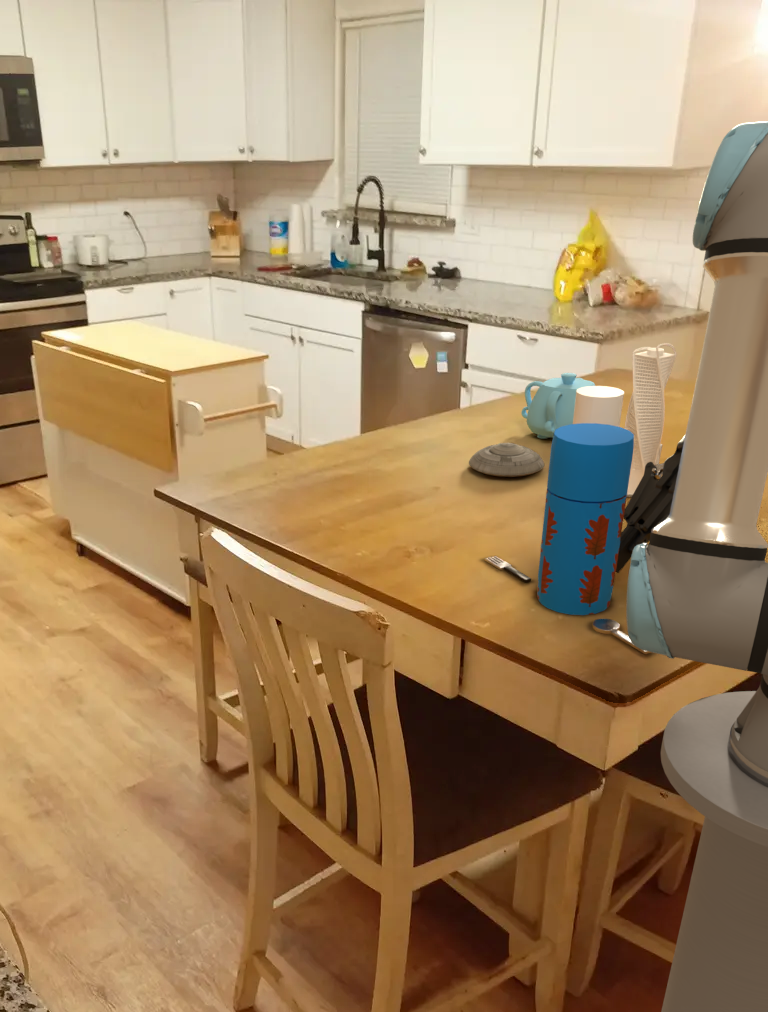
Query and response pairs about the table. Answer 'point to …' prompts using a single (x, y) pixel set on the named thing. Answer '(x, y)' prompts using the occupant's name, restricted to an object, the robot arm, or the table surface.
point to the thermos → (583, 516)
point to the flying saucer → (506, 460)
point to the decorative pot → (552, 404)
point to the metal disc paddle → (613, 631)
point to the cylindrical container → (598, 405)
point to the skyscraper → (647, 408)
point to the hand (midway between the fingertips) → (610, 566)
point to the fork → (507, 568)
